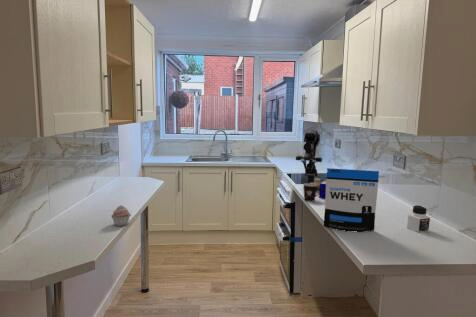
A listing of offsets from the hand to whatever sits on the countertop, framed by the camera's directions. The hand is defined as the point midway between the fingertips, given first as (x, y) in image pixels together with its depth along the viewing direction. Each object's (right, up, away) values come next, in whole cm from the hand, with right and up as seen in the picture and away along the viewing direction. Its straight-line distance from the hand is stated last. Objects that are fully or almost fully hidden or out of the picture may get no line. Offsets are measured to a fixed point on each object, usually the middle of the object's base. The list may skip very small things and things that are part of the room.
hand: (308, 170), depth 258 cm
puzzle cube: (+8, -18, -25) cm, 32 cm away
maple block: (+6, -10, -1) cm, 12 cm away
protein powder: (+3, -27, -84) cm, 88 cm away
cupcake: (-111, -24, -85) cm, 142 cm away
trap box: (+8, -14, -5) cm, 17 cm away
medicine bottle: (+38, -27, -84) cm, 96 cm away
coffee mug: (-5, -19, -34) cm, 39 cm away
